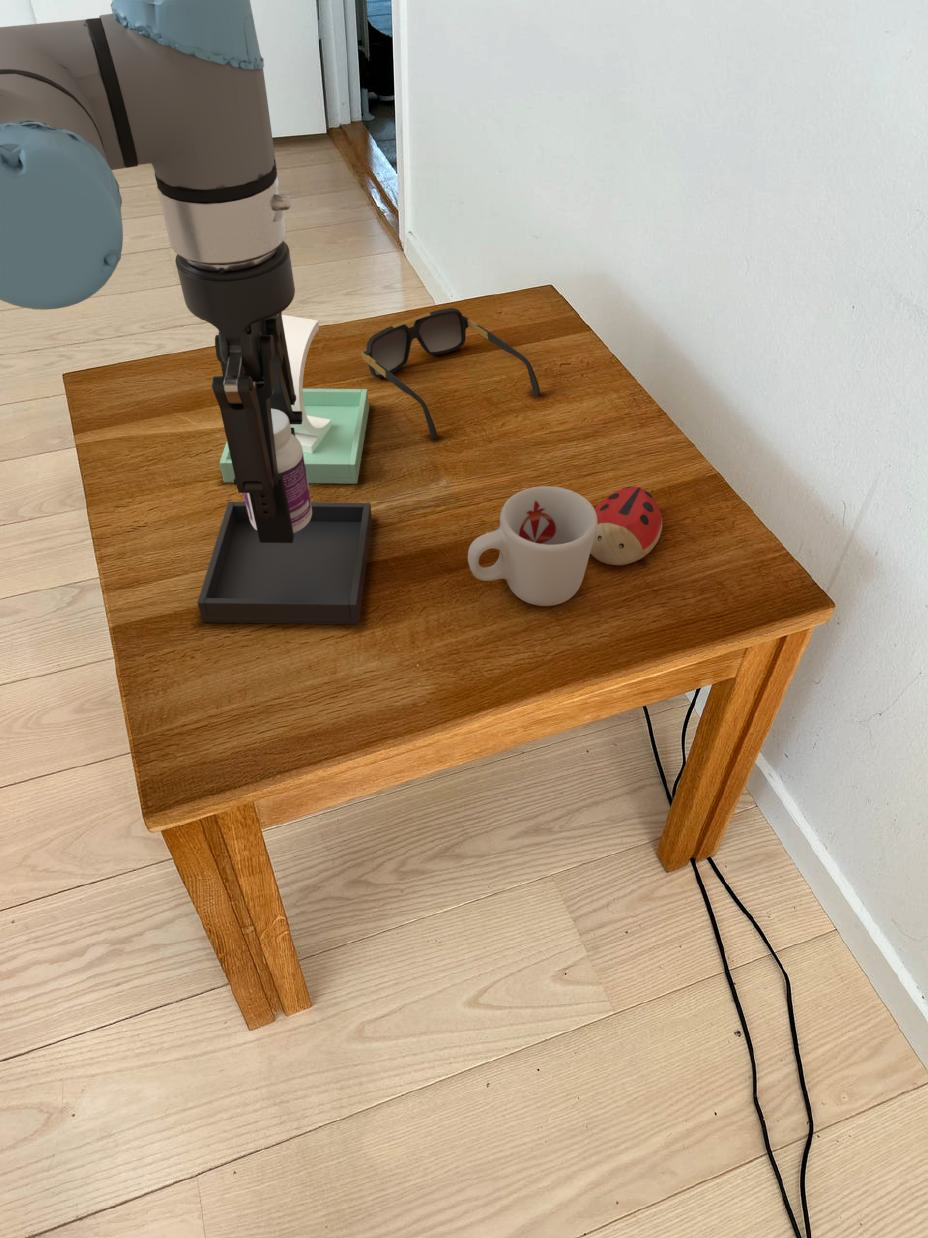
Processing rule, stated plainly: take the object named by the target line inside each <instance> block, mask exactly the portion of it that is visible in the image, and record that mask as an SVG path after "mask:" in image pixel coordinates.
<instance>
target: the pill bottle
mask: <svg viewBox="0 0 928 1238" xmlns="http://www.w3.org/2000/svg"><path fill="white" fill-rule="evenodd" d="M271 414H272V423H273V432H274V441H275V451H276V460H277V469H278V474H283V479H284V485H285V490H286V496H287V501H288V507H289V512H290V517H291V523H292V528H293V533H295V532H298V531H299V530H301V529H302V528H304V527H305V526H306V525H307V524H308V523H309V521H310V519H311V516H312V507H311V502H312V501H311V500H312V499H311V494H310V488H309V487H310V486H309V483H308V479H307V474H306V468H305V461H304V454H303V449H302V446H301V443H300V441H299V440H298V439H297V438H296V437H295V436H294V435H293V434H291V427H290V423H289V419H288V416H287V415H286V414H285V413H284V412H282V411H280V410H277V409H271ZM242 495H243V499H244V502H245V503H246V507H247V511H248V515H249V519H250V522H251V524H252V526H253V527H254V528H255V529H256V530H257V527H256V523H255V518H254V514H253V509H252V504H251V500H250V495H249V493H242Z"/></svg>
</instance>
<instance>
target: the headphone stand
mask: <svg viewBox="0 0 928 1238" xmlns="http://www.w3.org/2000/svg"><path fill="white" fill-rule="evenodd" d="M282 321H283V327H284V333H285V339H286V344H287V350H288V356H289V362H290V368H291V374H292V380H293V386H294V392H295V395H296V402H295V405H291V407H292V411H302V424H290V427H291V428H294V431H295V437H296V438H297V439H298V440H299V441H300V443H301V446H302V449H303V452H306V453H313V452H314V450H315V449H316V447H317V446H318V445H319V443H320V442H321V441H322V439H323V438H324V436H325V435H326V434H327V432H328V431H329V429H330V428H331V427H332V426H331V420H329V419H324V418H318V417H313V416H308V415H306V412H305V408H304V402H303V389H304V375H305V374H304V373H305V366H306V361H307V357H308V355H309V350H310V347H311V345H312V342H313V340H314V338H315V336H316V334H317V332H318V331H319V329H320V324H319V323H320V322H319V320H317V319H312V318H311V319H310V318H305V317H298V316H292V315H287V314H282Z"/></svg>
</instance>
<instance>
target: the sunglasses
mask: <svg viewBox="0 0 928 1238" xmlns="http://www.w3.org/2000/svg"><path fill="white" fill-rule="evenodd" d="M412 322H414V323H413V326H411V327H409V326H408V325H407V324H409V323H412ZM468 328H470V329H471V330H472V331H474V332H476V333H477V334H478V335H480V336H482V337H483V338H484V339H485V340H488V341H489V342H491V343H492V344H493V345H495V346H496V347H498V348H500V349H501V350H503V351H504V352H506V353H508V354H510V355H513V357H516V358H517V359H518V360H520V361H521V362H523V363H524V365H525V366H526V369H527V373H528V377H529V380H530V385H531V388H532V393H533V394H534V396H535V397H538V396H539V395H540V392H541V391H540V390H541V389H540V385H539V382H538V379H537V376H536V374H535V371H534V368H533V367H532V364H531V362H530V361H529V359H528V358H527V357H525V356H524V355H523V354H522V353H520V352H519V351H518V350H516V349H515V348H513V347H512V346H511V345H510V344H508V343H507V342H506V341H504V340H502V339H500V338H499V337H498V336H496V335H495V334H494V333H492V332H490V331H489V330H488V329H486V328H484V327H483V326H482V325H480V324H479V323H476V322H474V321H473V320H472V319H470V318H469V317H467V316H465V315H463V314H462V312H461V311H460V310H459V309H458V308H455V307H447V308H442V309H437V310H433V311H430V312H425V313H423V314H419V315H417V316H414V317H411V318H408V319H405V320H403V321H399V322H397V323H394V324H391V325H390V326H388V327H385V328H384V329H382V330H379V331H378V332H376V333H374V334H373V335H372V336H370V337H369V339H368V340H367V343H366V350H363V351H360V356H361V359H362V360H363V361H364V362H365V363H366V364H367V365H368V369H369V371H370V374H371V375H372V376H373V377H376V378H385V379H386V380H388V381H389V382H391V384H393V385H394V386H396V387H397V388H398V389H399V390H401V391H402V392H404V393H405V394H406V395H407V394H408V395H409V396H410V397H412V398H413V399H414V400H415V401H416V402H418V403H419V404H420V406H421V408H422V411H423V414H424V417H425V420H426V424H427V428H428V431H429V434H430V436H431V438H432V439H434V440H435V439H436V438H437V429H436V426H435V423H434V420H433V418H432V415H431V413H430V409H429V408H428V405H427V403H426V402H425V400H423V398H421V397H420V396H419V394H417V393H416V392H415V391H414V390H412V389H411V388H410V387H409V386H408V385H406V383H404V382H403V380H402V381H401V379H399V378H398V377H397V376H396V375H394V373H395V372H397V371H399V370H400V369H401V368H403V367H405V365H406V364H407V362H408V359H409V357H410V356H409V355H410V353H411V352H410V351H411V348H412V347H411V346H412V343H413V340H414V339H416V340H417V341H418V343H419V344H420V346H421V347H422V349H423V350H424V351H425V352H426V353H427V354H430V355H432V356H433V355H434V356H436V355H437V356H438V355H443V354H448V353H451V352H455V351H456V350H459V349H460V348H462V347H463V346H464V345H465V342H466V336H467V333H466V331H467V330H466V329H468Z"/></svg>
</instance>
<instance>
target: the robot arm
mask: <svg viewBox="0 0 928 1238" xmlns="http://www.w3.org/2000/svg"><path fill="white" fill-rule="evenodd" d="M110 9H111V12H112V13H107V14H100V15H99V16H98V17H93V18H86V19H76V20H66V21H65V20H64V21H54V22H53V21H52V22H43V23H42V22H41V23H30V24H21V25H10V26H0V301H2V302H4V303H7V304H9V305H11V306H15V307H20V308H23V309H29V310H41V311H42V310H43V311H44V310H57V309H63V308H67V307H71V306H75V305H78V304H81V303H82V302H84V301H85V300H88V299H90V298H91V297H92V296H94V295H95V294H97V293H98V291H100V290H101V289H102V288H103V287H104V286H105V285H106V284H107V283H108V281H109V280H110V278H111V277H112V276H113V274H114V272H115V270H116V269H117V267H118V264H119V262H120V261H121V259H122V251H123V244H124V243H123V242H124V230H123V228H124V227H123V226H124V225H123V217H122V205H123V198H122V194H121V192H120V184H119V183H118V180H117V178H116V176H115V174H114V172H113V171H115V170H116V171H117V170H122V169H125V168H126V169H128V168H129V169H130V168H135V167H139V166H140V165H141V166H142V165H148V164H151V166H152V168H153V171H154V178H155V181H156V188H157V192H158V197H159V201H160V206H161V209H162V214H163V219H164V223H165V227H166V232H167V237H168V241H169V245H170V248H171V249H172V250H173V252H174V253H175V254H176V256H175V267H176V270H177V274H178V280H179V283H180V288H181V292H182V295H183V301H184V303H185V306H186V308H187V309H188V311H189V312H190V313H191V314H192V315H193V316H195V317H196V318H198V319H200V320H202V321H205V322H207V323H209V324H210V325H211V326H213V327H214V328H216V330H217V331H218V333H217V334H215V336H214V347H215V354H216V358H217V361H219V363H220V366H221V373H222V375H214V376H213V377H212V382H211V389H212V390H213V395H214V397H215V399H216V402H217V404H218V407H219V411H220V414H221V419H222V424H223V428H224V433H225V437H226V442H228V447H229V452H230V456H231V461H232V465H233V470H234V475H235V478H234V482H233V483H234V485H235V486H236V489H237V492H238V494H243V493H249V495H250V500H251V504H252V509H253V514H254V518H255V523H256V527H257V532H258V536H259V541H260V543H293V540H294V534H293V528H292V523H291V517H290V512H289V507H288V501H287V496H286V490H285V485H284V479H283V474H278V469H277V460H276V451H275V441H274V432H273V423H272V414H271V409H277V410H280V411H282V412H284V413H285V414H286V415H287V416H288V419H289V423H290V424H302V411H292V407H291V405H295V402H296V395H295V392H294V386H293V380H292V374H291V368H290V362H289V356H288V350H287V344H286V339H285V333H284V327H283V321H282V315H283V314H282V312H284V311H285V310H286V309H287V308H288V307H289V306H290V305H291V304H292V302H293V299H294V298H295V293H296V287H295V286H296V285H295V281H294V273H293V266H292V260H291V254H290V253H291V252H290V248H289V246H288V244H287V243H286V241H284V240H285V238H286V231H287V230H286V224H285V217H284V212H285V211H288V210H289V209H290V208H291V207H292V204H291V203H292V202H291V198H290V196H289V195H288V194H285V193H279V184H280V183H279V178H278V168H277V161H276V155H275V148H274V147H275V146H274V139H273V130H272V124H271V117H270V110H269V101H268V96H267V94H268V93H267V87H266V80H265V79H266V78H265V72H264V68H265V59H264V58H263V57H262V54H261V49H260V44H259V40H258V36H257V35H258V34H257V30H256V23H255V19H254V15H253V9H252V4H251V0H112V1H111V3H110ZM291 434H293V435H294V436H295V431H294V428H291Z"/></svg>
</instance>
